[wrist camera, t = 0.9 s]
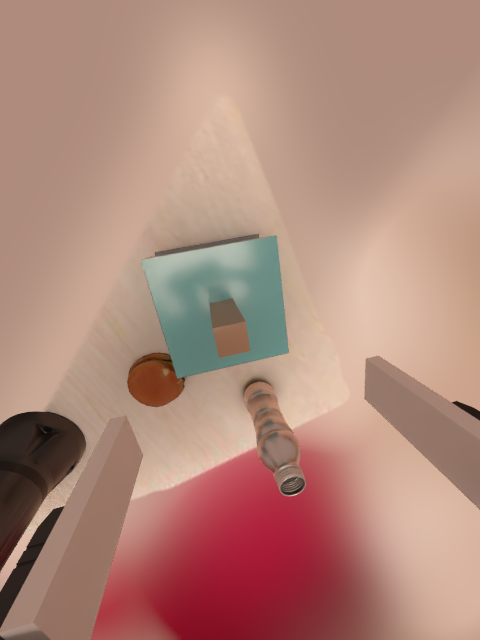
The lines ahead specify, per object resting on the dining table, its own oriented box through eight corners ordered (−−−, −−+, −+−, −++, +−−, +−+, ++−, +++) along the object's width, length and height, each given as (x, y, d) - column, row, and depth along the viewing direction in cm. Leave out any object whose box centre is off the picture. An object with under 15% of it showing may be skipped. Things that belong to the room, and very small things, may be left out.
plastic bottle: (256, 408, 49) (289, 511, 30) (235, 391, 47) (257, 490, 28) (278, 389, 48) (326, 482, 29) (258, 371, 46) (296, 458, 27)
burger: (128, 391, 43) (119, 407, 39) (135, 347, 41) (127, 360, 36) (180, 398, 45) (178, 414, 41) (190, 357, 43) (189, 370, 38)
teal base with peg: (183, 344, 41) (167, 429, 22) (158, 255, 36) (109, 268, 17) (268, 326, 43) (319, 391, 24) (256, 237, 37) (310, 231, 18)
